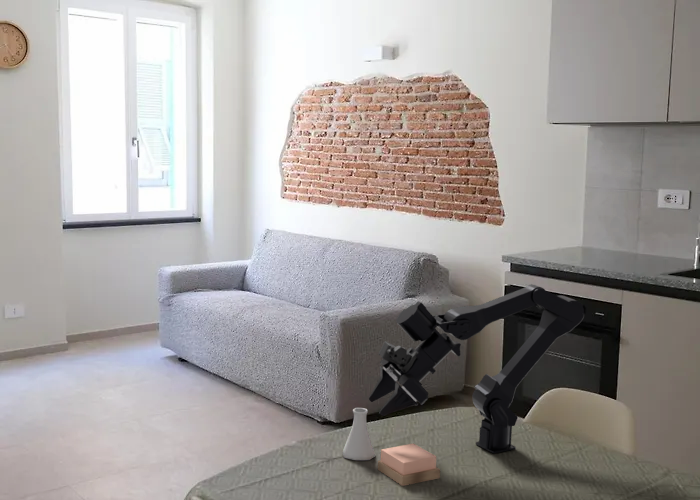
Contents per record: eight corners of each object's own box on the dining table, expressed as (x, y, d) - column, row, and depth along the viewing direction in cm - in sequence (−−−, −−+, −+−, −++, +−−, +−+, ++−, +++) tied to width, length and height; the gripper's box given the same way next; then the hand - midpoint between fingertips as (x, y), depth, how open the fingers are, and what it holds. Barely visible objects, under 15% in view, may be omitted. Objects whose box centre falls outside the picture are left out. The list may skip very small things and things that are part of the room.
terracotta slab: (412, 454, 169) (413, 443, 168) (435, 468, 162) (436, 456, 162) (380, 461, 164) (381, 449, 164) (403, 475, 158) (403, 463, 157)
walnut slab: (414, 465, 170) (414, 453, 169) (439, 481, 162) (440, 469, 161) (377, 472, 165) (378, 460, 165) (402, 489, 157) (402, 476, 157)
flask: (372, 463, 168) (374, 416, 167) (338, 459, 170) (339, 413, 168) (378, 451, 175) (379, 406, 174) (345, 447, 177) (347, 403, 176)
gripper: (390, 320, 180) (340, 369, 179) (416, 340, 162) (360, 395, 161) (422, 354, 183) (373, 403, 182) (451, 377, 165) (396, 431, 164)
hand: (375, 407), depth 172 cm, fingers open, 9 cm apart
